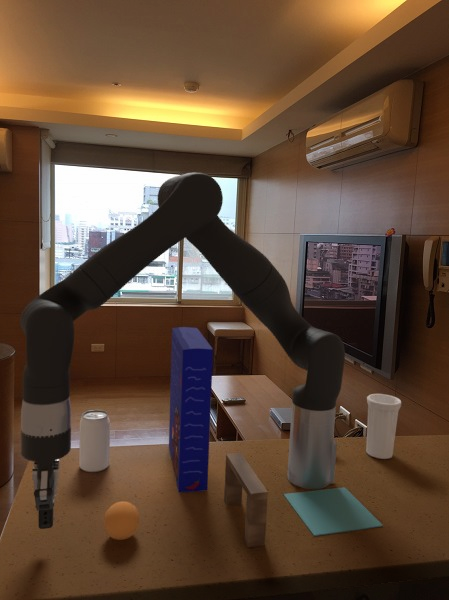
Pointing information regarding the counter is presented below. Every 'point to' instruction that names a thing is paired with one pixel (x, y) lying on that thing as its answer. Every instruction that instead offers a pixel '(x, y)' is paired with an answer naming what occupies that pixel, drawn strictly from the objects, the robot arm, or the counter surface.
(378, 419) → the cup
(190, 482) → the cereal box
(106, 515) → the ball
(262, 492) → the bridge
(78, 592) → the counter surface
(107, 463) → the can
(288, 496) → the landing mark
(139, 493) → the counter surface
